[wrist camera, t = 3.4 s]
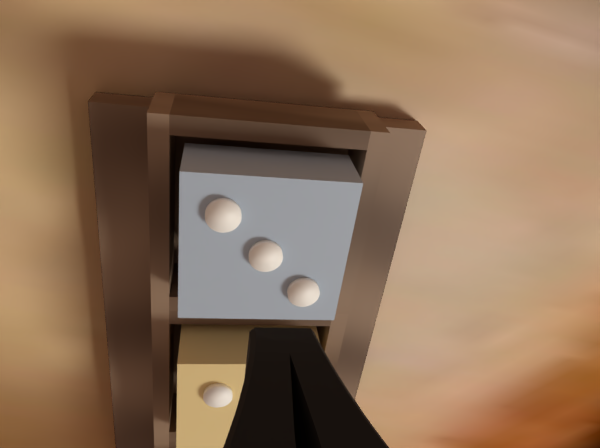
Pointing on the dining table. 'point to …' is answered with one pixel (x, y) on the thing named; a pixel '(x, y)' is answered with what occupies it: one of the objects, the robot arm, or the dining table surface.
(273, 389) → the robot arm
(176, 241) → the brown tile tray
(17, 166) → the dining table surface
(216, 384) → the two pip tile
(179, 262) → the three pip tile
